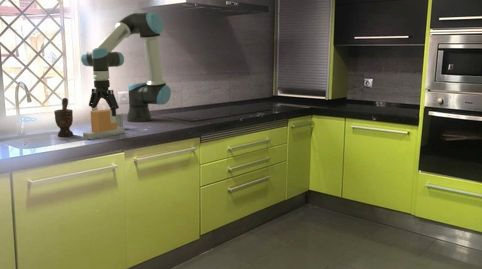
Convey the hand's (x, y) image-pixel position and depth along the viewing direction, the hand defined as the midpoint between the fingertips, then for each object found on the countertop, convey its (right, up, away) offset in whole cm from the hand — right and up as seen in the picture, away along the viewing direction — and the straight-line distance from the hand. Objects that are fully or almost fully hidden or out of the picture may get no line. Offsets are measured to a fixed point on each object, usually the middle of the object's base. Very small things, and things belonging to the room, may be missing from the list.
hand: (104, 121), depth 224 cm
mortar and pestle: (-20, -8, +1) cm, 21 cm away
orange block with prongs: (0, -7, +1) cm, 7 cm away
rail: (0, -7, +1) cm, 7 cm away
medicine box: (0, -4, +22) cm, 22 cm away
